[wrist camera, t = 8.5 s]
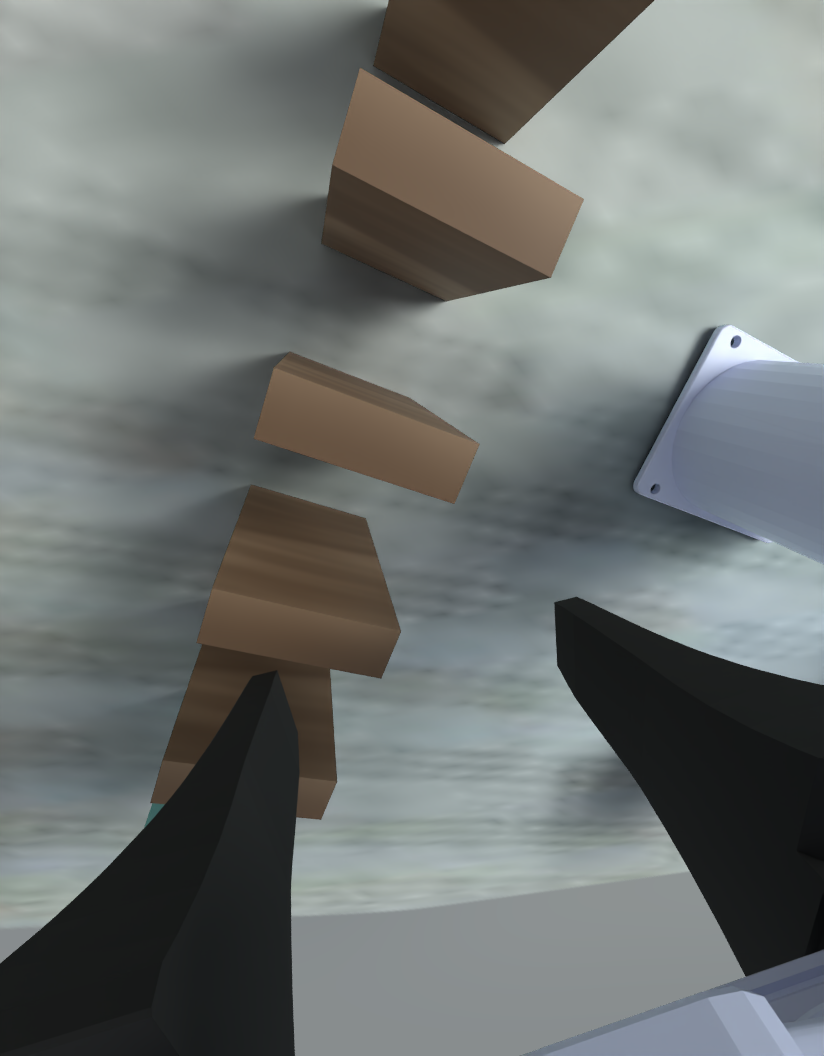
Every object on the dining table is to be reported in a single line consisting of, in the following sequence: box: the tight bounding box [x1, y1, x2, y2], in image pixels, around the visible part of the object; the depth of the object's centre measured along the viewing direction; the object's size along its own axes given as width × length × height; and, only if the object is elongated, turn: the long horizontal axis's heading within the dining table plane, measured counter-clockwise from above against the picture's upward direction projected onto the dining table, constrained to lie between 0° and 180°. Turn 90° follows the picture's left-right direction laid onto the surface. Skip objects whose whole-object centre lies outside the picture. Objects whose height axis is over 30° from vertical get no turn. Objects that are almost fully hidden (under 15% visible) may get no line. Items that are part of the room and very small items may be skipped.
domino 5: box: [150, 644, 337, 820], centre depth 19 cm, size 2×5×9 cm, turn 69°
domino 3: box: [254, 352, 479, 504], centre depth 15 cm, size 2×5×9 cm, turn 69°
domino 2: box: [321, 68, 584, 301], centre depth 14 cm, size 2×5×9 cm, turn 69°
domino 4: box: [197, 485, 401, 678], centre depth 17 cm, size 2×5×9 cm, turn 68°
